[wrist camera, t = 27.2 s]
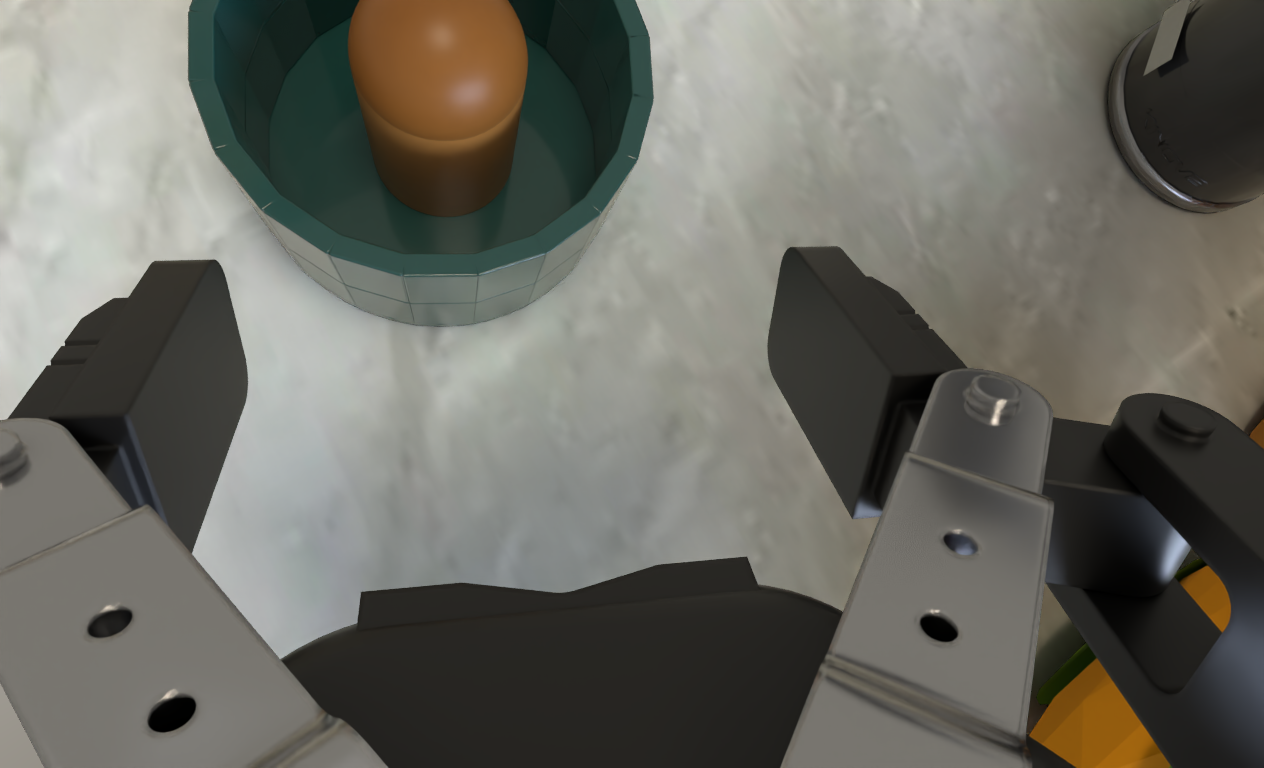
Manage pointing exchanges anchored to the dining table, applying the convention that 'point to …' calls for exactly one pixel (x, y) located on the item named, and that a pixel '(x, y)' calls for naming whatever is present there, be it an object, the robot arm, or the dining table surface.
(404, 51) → the brown rounded cylinder
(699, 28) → the dining table surface
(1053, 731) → the corn
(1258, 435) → the coffee package
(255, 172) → the pot
